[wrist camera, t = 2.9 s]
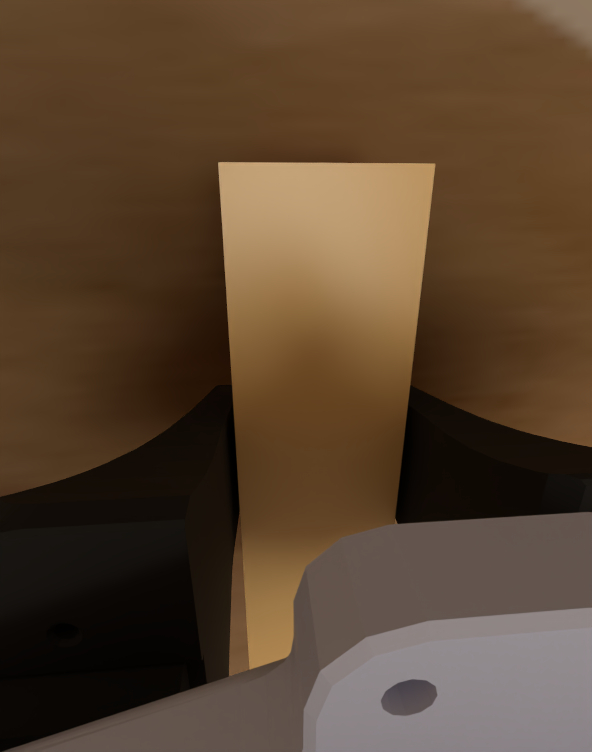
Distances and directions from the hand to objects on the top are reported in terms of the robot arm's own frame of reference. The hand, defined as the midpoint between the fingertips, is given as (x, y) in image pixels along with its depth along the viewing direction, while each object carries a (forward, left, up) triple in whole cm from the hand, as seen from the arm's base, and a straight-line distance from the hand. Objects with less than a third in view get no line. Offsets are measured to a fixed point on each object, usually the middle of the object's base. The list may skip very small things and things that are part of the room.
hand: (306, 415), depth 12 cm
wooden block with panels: (0, 0, -2) cm, 2 cm away
